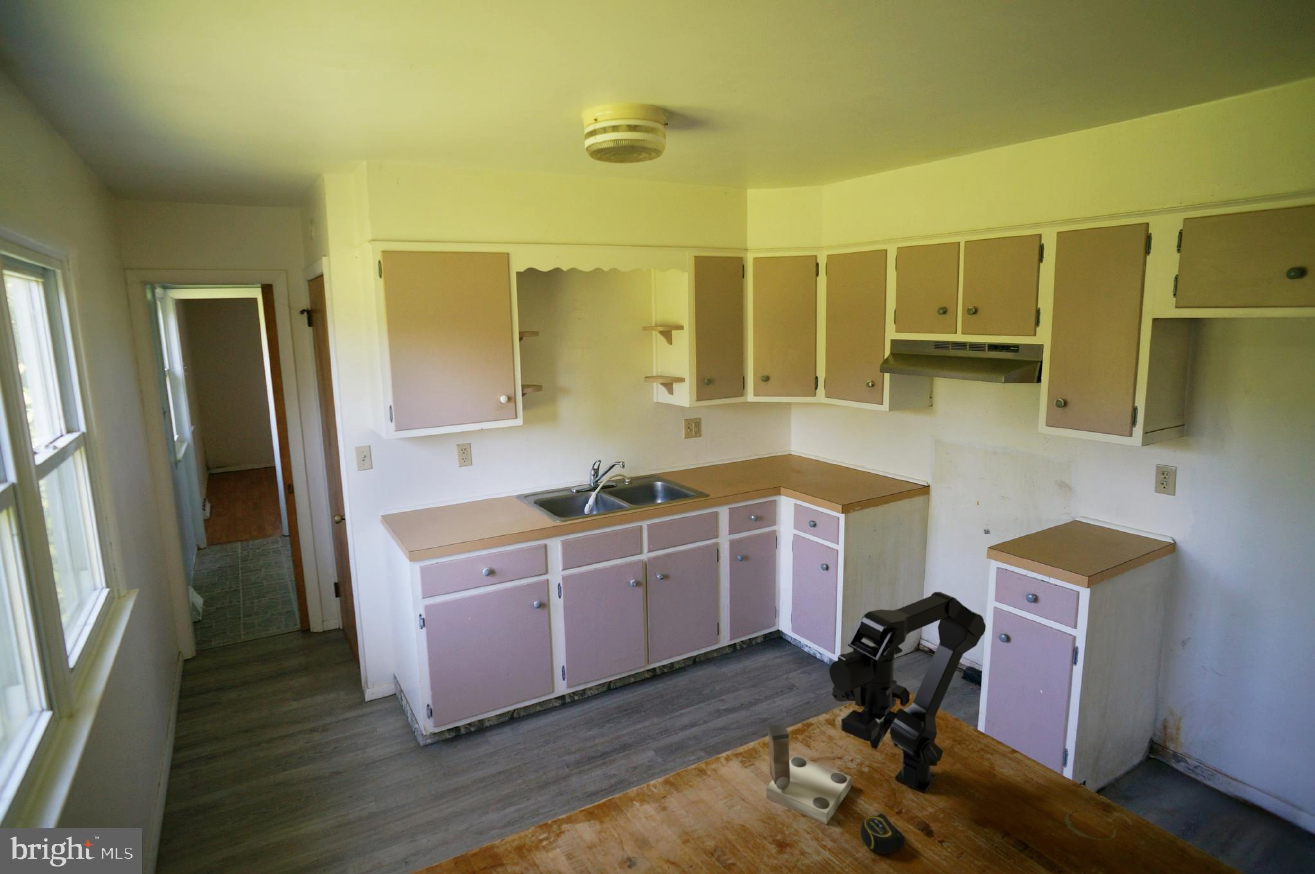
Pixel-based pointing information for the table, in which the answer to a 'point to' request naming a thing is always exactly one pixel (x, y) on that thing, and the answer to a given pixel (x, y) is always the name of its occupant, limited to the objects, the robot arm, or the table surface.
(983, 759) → the table surface
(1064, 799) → the table surface
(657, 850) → the table surface
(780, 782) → the folding leg
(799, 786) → the stool seat
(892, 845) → the tape measure
